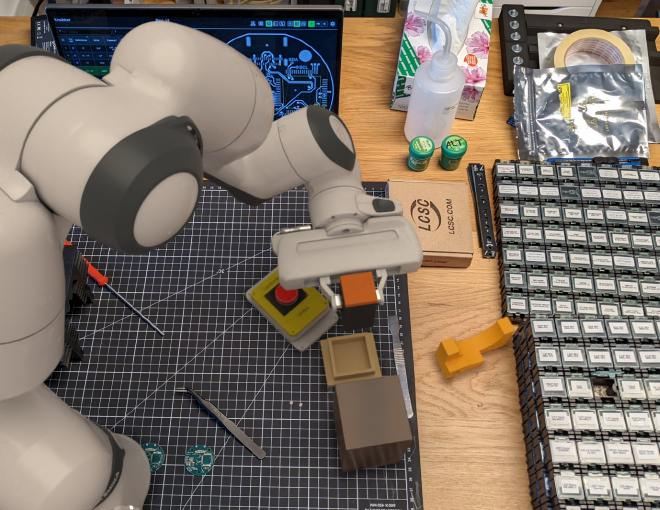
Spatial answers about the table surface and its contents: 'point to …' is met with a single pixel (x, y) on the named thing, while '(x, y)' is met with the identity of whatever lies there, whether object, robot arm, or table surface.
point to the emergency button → (292, 310)
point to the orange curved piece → (472, 348)
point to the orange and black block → (358, 301)
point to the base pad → (350, 358)
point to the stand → (371, 423)
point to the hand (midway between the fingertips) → (358, 307)
